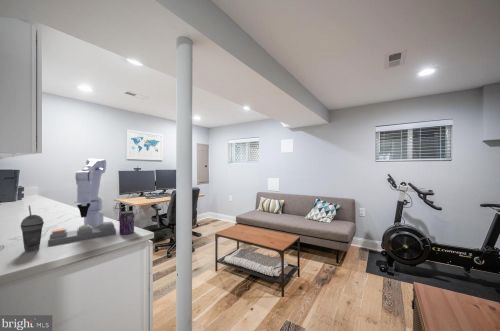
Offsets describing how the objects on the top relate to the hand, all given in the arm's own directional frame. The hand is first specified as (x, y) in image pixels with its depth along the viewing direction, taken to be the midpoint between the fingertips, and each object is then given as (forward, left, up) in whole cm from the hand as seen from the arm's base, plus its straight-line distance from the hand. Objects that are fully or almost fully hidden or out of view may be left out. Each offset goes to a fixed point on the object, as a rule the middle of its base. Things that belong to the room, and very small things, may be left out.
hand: (83, 217), depth 113 cm
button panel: (+3, +4, -9) cm, 11 cm away
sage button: (+3, +4, -6) cm, 8 cm away
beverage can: (-6, +22, -10) cm, 25 cm away
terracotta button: (+11, -2, -6) cm, 12 cm away
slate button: (-5, +10, -6) cm, 13 cm away
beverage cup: (+22, -2, -10) cm, 24 cm away
